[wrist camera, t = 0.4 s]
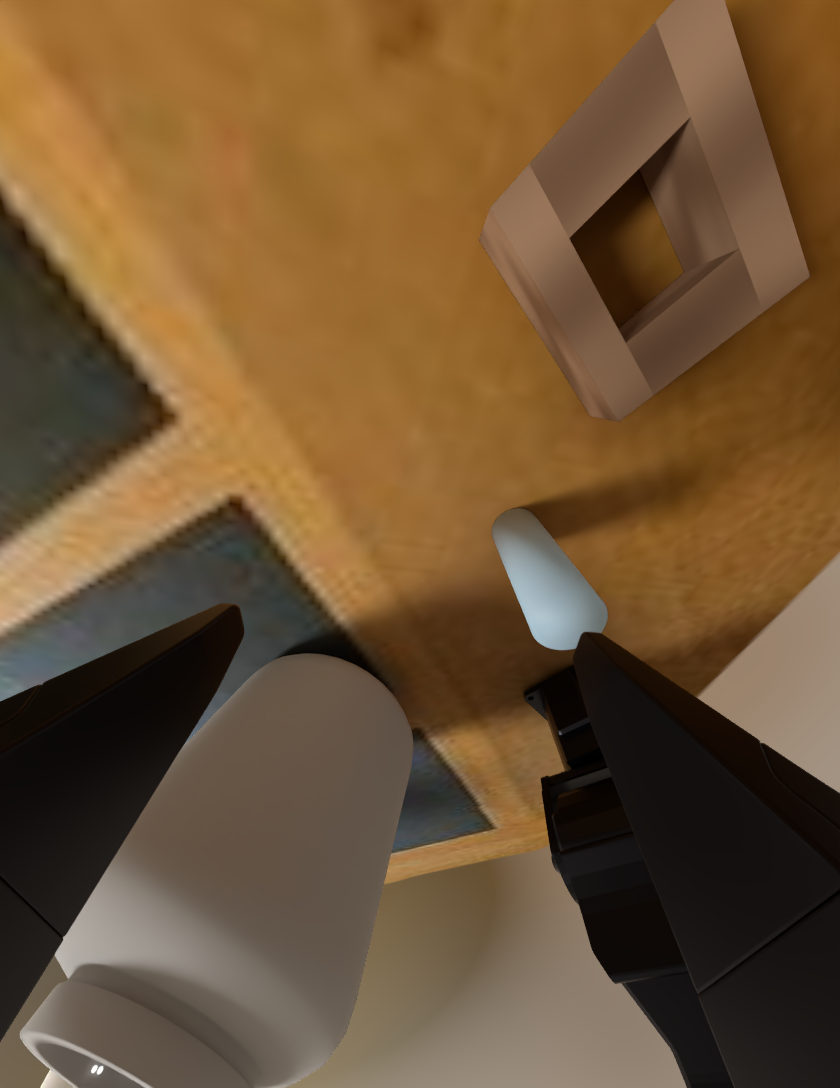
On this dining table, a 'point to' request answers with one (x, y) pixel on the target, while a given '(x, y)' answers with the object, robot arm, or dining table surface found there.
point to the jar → (239, 894)
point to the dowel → (546, 582)
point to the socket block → (680, 198)
